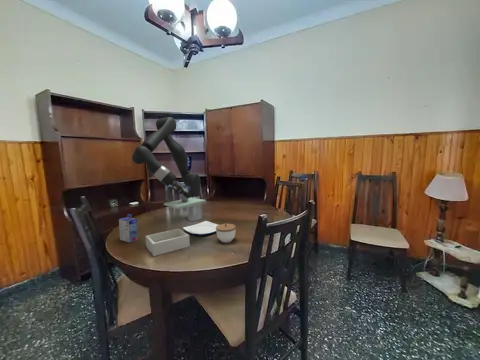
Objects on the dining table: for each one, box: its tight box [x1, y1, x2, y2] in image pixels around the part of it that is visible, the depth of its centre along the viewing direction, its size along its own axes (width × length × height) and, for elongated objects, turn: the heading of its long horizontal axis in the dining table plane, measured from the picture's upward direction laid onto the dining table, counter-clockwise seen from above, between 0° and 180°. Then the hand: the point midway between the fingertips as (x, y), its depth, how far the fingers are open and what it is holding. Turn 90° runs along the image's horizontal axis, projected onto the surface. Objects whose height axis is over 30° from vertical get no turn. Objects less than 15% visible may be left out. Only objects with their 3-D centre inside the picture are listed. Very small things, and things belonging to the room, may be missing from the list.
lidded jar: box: [215, 223, 237, 243], centre depth 124 cm, size 11×11×9 cm
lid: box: [163, 188, 207, 210], centre depth 125 cm, size 18×14×9 cm
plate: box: [182, 220, 219, 237], centre depth 142 cm, size 20×20×3 cm
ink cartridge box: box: [118, 213, 139, 243], centre depth 128 cm, size 10×6×14 cm, turn 58°
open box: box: [144, 228, 191, 257], centre depth 118 cm, size 18×14×6 cm
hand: (189, 196), depth 126 cm, fingers closed on lid, 3 cm apart
